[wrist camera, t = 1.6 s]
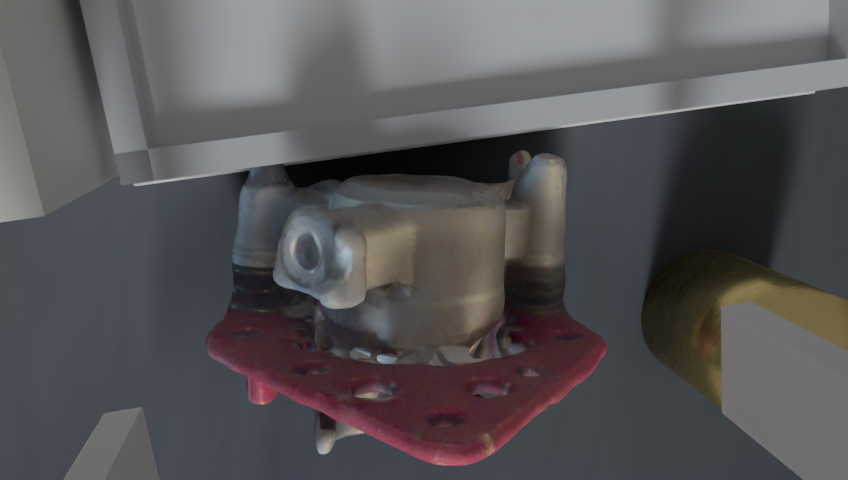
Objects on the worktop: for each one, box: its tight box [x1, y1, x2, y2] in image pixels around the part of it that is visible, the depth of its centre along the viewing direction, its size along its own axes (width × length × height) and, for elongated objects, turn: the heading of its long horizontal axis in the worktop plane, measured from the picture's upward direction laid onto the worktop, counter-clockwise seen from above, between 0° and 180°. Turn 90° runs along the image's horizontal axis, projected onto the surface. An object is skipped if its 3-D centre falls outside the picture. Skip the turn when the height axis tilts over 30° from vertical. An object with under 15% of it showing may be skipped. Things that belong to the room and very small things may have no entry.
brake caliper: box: [205, 150, 607, 466], centre depth 20 cm, size 11×11×12 cm
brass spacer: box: [641, 249, 848, 410], centre depth 24 cm, size 5×5×6 cm
